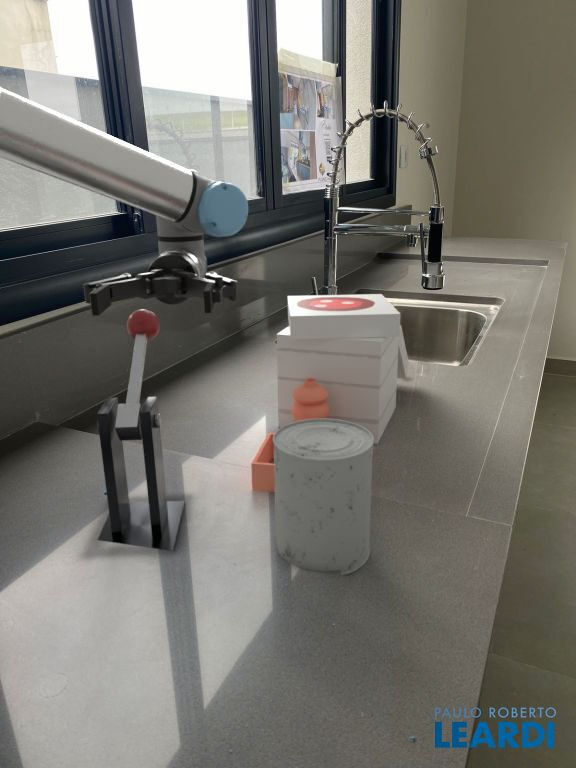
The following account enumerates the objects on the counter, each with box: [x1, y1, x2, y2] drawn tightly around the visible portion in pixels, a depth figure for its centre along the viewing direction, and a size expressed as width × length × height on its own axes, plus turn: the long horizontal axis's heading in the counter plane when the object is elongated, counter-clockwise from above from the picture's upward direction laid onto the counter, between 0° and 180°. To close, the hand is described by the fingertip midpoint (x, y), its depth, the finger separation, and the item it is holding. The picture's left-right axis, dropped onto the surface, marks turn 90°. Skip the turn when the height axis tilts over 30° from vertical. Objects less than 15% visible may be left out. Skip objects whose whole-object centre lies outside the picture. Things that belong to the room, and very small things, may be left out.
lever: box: [115, 308, 161, 441], centre depth 64 cm, size 16×4×4 cm
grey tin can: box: [273, 418, 375, 577], centre depth 59 cm, size 10×10×12 cm
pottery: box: [250, 378, 330, 493], centre depth 77 cm, size 18×10×10 cm, turn 169°
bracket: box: [96, 396, 186, 552], centre depth 61 cm, size 10×8×15 cm
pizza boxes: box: [276, 293, 410, 445], centre depth 96 cm, size 19×30×18 cm, turn 161°
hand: (150, 303), depth 73 cm, fingers open, 13 cm apart
